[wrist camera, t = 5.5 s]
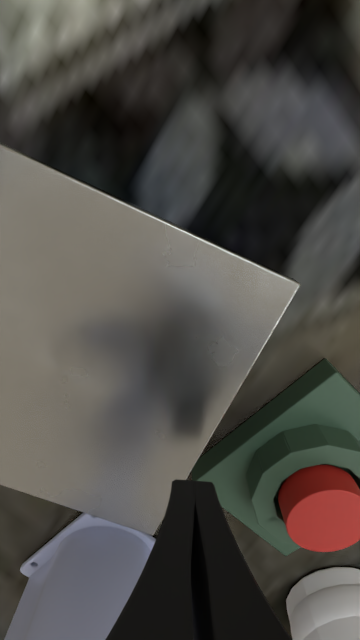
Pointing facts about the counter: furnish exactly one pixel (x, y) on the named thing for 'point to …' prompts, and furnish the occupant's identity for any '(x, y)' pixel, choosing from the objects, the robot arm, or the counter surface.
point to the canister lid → (116, 343)
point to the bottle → (326, 605)
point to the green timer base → (285, 450)
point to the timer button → (321, 508)
